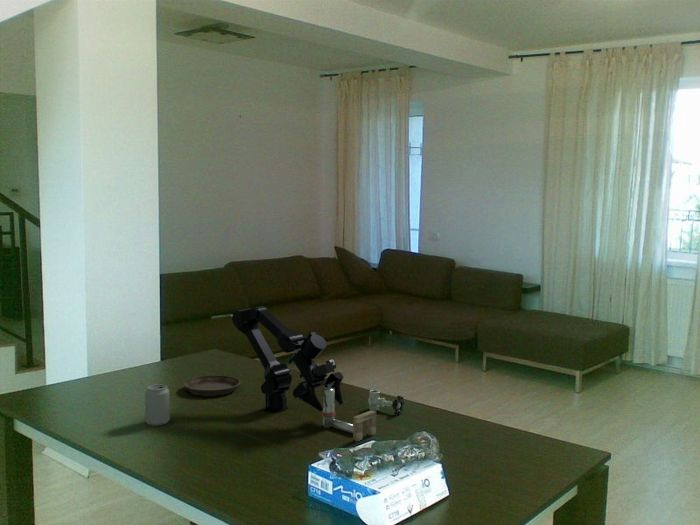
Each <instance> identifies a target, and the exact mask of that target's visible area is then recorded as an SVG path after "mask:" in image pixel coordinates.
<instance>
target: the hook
mask: <svg viewBox="0 0 700 525" xmlns="http://www.w3.org/2000/svg"><path fill="white" fill-rule="evenodd" d="M322 392H323V394H322V397H323V398H322V400H323V401H322V408H323V410H322V411H321V416H322V426H323V428H326V429H330V427H332V428H336V429H339V430H343V431H345V432H348V433H350V434H351V433H352V434H353V424H351V423H348V422H345V421H342V420H338V419H336V418H335V416H337V415H336V414H337V412H336V411H335V409H336V408H335V401H336V400H335V389H334V388H331V387H327V388H326V387H324V388H323V390H322Z"/></svg>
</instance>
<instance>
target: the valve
mask: <svg viewBox="0 0 700 525" xmlns="http://www.w3.org/2000/svg"><path fill="white" fill-rule="evenodd" d="M396 398H397V399H394V401H393V402H392V400H386V398H385V397H380V390H378V389H371V390H369V397H368V401H367V402H368V404H369V411H371V410H372V411H375V412H377V410H379V411H380V407H383V408H384V407H385V406H386V407H392V409H393V410H394V412H393V415H397V416H401V412H403V411H404V406H405V401H404V400H405V399H404V396H401V395H397V396H396Z"/></svg>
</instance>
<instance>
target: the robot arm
mask: <svg viewBox="0 0 700 525" xmlns="http://www.w3.org/2000/svg"><path fill="white" fill-rule="evenodd" d="M231 320H232V323H233V325H234V326H235V328H236V329H237V330H238V332H240V333H242V334H244V335H245V336H246V338H247V340H248V342H249V343H250V345H251V347H252V348H253V351H254V352H255V354H256V356H257V358H258V359H259V361H260V363H261V365H262V367H263V369H264V374H263V376H264V380H265V381H264V382H263V383H262V384H261V386H260V390H261V393H262V394H264V396H265V397H264V398H265V406H264V407H263V408H262V410H263V411H267V412H272V413H281V412H282V411H284V410H287V409H288V408H289V406H288V404H287V403H288V402H287V400H288V399H287V398H288V397H287V395H286V393H287V392H286V391H290V387H291V384H292V380H293V376H292V371H291V370H290V369H289V367H288V365H287V364H286V363H285V362H282V363H280V362H279V361H278V360H277V358H276V356H275V355H274V353H273V352H272V349H271V348H270V346H269V344H268V343H267V341H266V339H265V337H264V336H263V332H261V330H260V327H259V326H260V325H259V323H260V324H261V325H262V326H263V327H264V328H265V329H266V330H267V331H268V332H269V333H270V334H271V335H272V336H274V338H275V339H276V341H277V345H278V347H279V348H280V349H281V350H282V351H283V352H284V353H286V354H289V353H293V352H295V353H294V354H290V355H289V359H288V364H289V365H291V364H295V366H296V368H297V369H298V371H299V373H300V374H299V378H300V379H303V380H304V381H302V382H299V383H298V384H297V386H295V387H294V388H293V390H292V396H293V397H294V399H295V400H298V401H302V402H304V403H306V404H307V405H310V406H311V407H312V408H314V409H316V410H318V412H321V413H322V411H323V405H322V404H321V402H320V401H319V399H318V397H317V396H316V391H315V389H318V388H322V387H324V388H327V387H331V388H334V389H335V401H336V402H337V403H338V404H339V405H343V403H344V402H343V397H342V393H341V383H342V382H343V380H344V375H343V374H342V372H340V371H336V372H335V369H337V364H336V362H335V361H334V359H328V360H326V361H325V363H323V364H320V363H319V362H318V363H316V361H314V359H316V358H318V357H319V355H320V354H321V353H322V352H323V351H324V350H325V349H326V347H327V340H325V338H323V336H321V335H318V334H317V333H316V332H314V331H312V332H309V334H308V335H307V337H304V335H303V334H301V333H300V332H298V330H297V331H296V330H295V329H292V328H289V327H287V326H286V325H284V324H283V323H282V322H281V321H280V320H279V319H278V318H277V317H275V315H273V314H272V313H271V312H270V311H269V310H268V308H267V307H266V306H264V305H262V306H260V305H259V306H255V307H253V308H251V307H250V308H244V309H239V310H234V312H233V314H232V316H231Z"/></svg>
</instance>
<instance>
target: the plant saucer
mask: <svg viewBox="0 0 700 525" xmlns="http://www.w3.org/2000/svg"><path fill="white" fill-rule="evenodd" d="M205 383H206V384H205ZM210 383H211V384H210ZM212 383H214V384H212ZM220 383H225V384H220ZM229 384H230V385H229ZM240 384H241V380H240V379H239V378H238V377H235V376H230V375H221V374H220V375H216V374H215V375H202V376H197V377H196V376H195V377H192V378H189V379H187V380H186V381H184V383H183V386H184V387H185V389H186V390H187V391H188V392H190V393H191V394H193V395H195V396H199V395H201V396H202V397H216V396H217V395H219V396H224V394H225V395H227V394H230V392H231V393H232V391H233V392H234V391H235V390H236V389H237V388H238V387H239V385H240ZM217 397H218V396H217Z"/></svg>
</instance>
